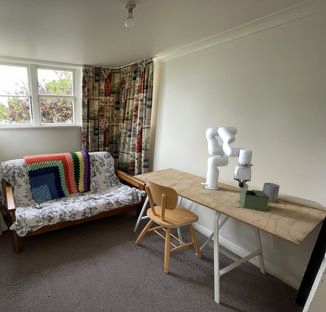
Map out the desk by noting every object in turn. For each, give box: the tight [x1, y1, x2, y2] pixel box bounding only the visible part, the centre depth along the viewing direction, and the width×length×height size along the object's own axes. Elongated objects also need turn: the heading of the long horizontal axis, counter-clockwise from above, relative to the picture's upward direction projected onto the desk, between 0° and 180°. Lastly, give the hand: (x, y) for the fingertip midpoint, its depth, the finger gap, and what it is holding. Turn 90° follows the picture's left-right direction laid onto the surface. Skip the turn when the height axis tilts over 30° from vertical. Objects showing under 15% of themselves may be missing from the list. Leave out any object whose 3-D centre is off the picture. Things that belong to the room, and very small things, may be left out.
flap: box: [240, 182, 249, 194], centre depth 150 cm, size 7×13×1 cm
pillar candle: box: [262, 182, 281, 203], centre depth 158 cm, size 10×10×15 cm
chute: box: [238, 188, 270, 212], centre depth 149 cm, size 14×13×11 cm
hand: (240, 187), depth 151 cm, fingers closed
